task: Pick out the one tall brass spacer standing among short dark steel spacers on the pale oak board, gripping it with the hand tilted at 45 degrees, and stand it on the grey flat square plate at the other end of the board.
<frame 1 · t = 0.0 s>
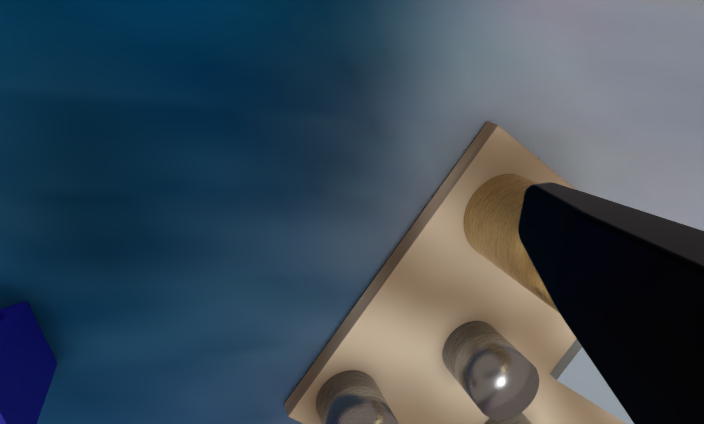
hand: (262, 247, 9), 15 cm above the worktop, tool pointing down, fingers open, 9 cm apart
grey flat square plate: (647, 347, 32), on the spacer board, point 1 cm above the worktop
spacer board: (526, 355, 31), on the worktop
tall brass spacer: (503, 216, 27), point 1 cm above the worktop, touching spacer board
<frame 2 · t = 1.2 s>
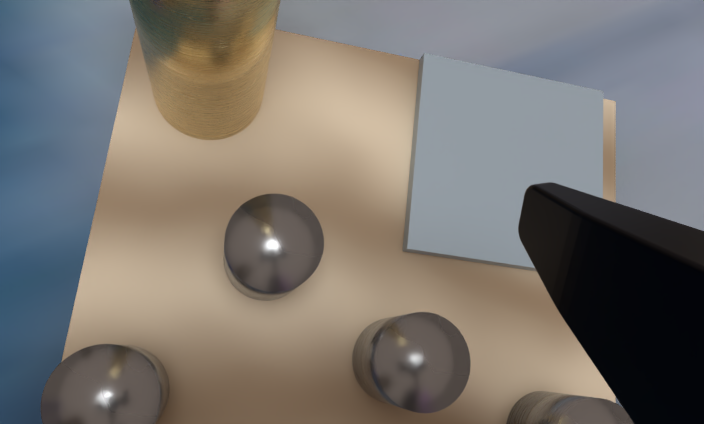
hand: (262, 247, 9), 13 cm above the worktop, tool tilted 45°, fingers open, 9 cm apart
grey flat square plate: (508, 166, 24), on the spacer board, point 1 cm above the worktop
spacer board: (370, 251, 23), on the worktop
short steel spacers: (365, 340, 20), on the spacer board, point 3 cm above the worktop
tall brass spacer: (209, 89, 22), point 1 cm above the worktop, touching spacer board
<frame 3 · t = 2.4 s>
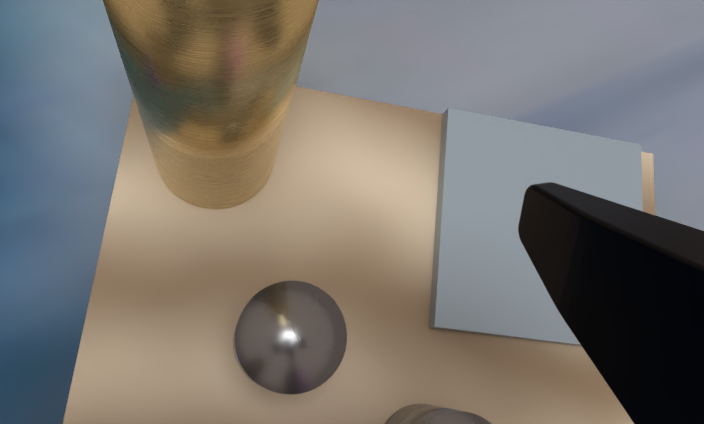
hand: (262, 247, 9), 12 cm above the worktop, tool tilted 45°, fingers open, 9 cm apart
grey flat square plate: (542, 229, 22), on the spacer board, point 1 cm above the worktop
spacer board: (392, 326, 21), on the worktop
tall brass spacer: (215, 152, 20), point 1 cm above the worktop, touching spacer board
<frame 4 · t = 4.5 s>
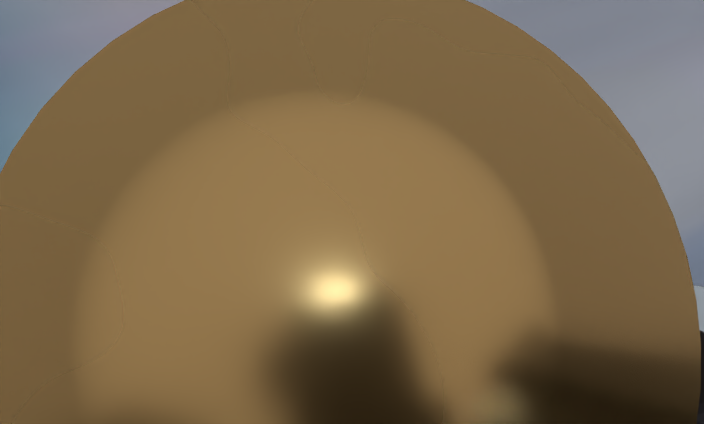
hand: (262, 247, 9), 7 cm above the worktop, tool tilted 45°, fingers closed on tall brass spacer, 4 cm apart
tall brass spacer: (254, 347, 15), point 1 cm above the worktop, touching gripper, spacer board
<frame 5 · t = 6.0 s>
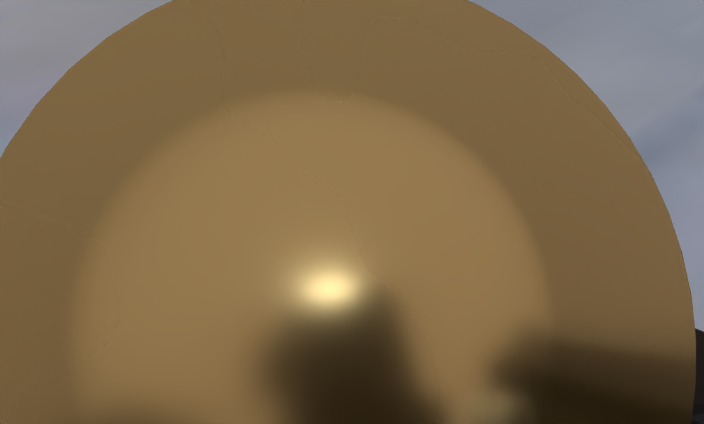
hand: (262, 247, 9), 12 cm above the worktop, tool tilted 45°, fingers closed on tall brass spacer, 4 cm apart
tall brass spacer: (253, 346, 15), point 6 cm above the worktop, touching gripper
when the fingers open (9 cm above the worktop, at t = 7.8 s): tall brass spacer drops 1 cm, resting on grey flat square plate.
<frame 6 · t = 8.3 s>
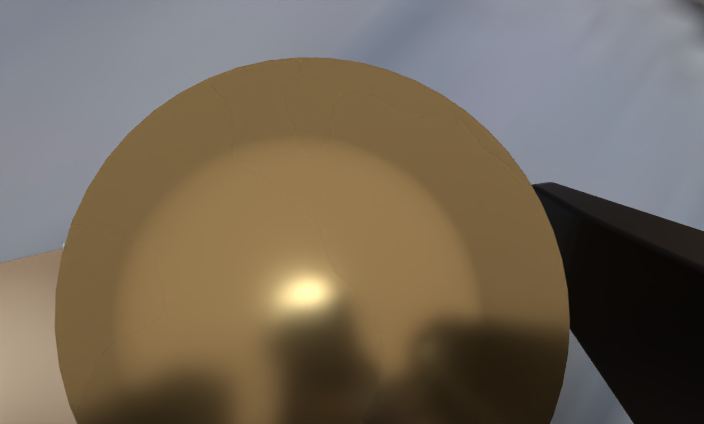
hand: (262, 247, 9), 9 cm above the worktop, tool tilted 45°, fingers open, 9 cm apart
tall brass spacer: (251, 350, 16), point 2 cm above the worktop, touching grey flat square plate
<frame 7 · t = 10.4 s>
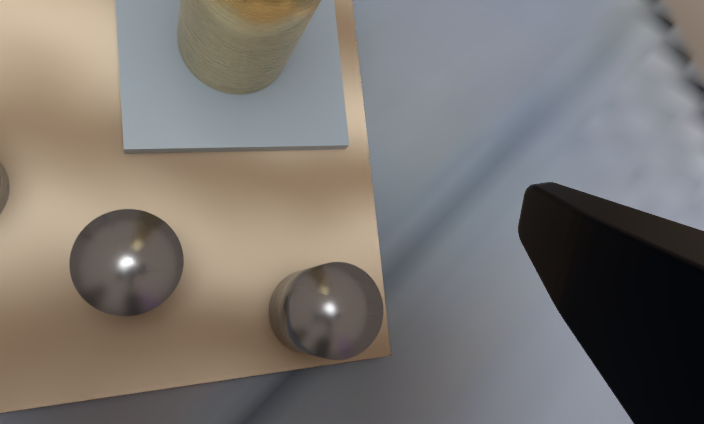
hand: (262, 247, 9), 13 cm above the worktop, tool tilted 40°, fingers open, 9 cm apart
grey flat square plate: (233, 44, 22), on the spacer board, point 1 cm above the worktop
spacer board: (94, 161, 21), on the worktop
short steel spacers: (75, 253, 18), on the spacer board, point 3 cm above the worktop
tall brass spacer: (234, 41, 22), point 2 cm above the worktop, touching grey flat square plate
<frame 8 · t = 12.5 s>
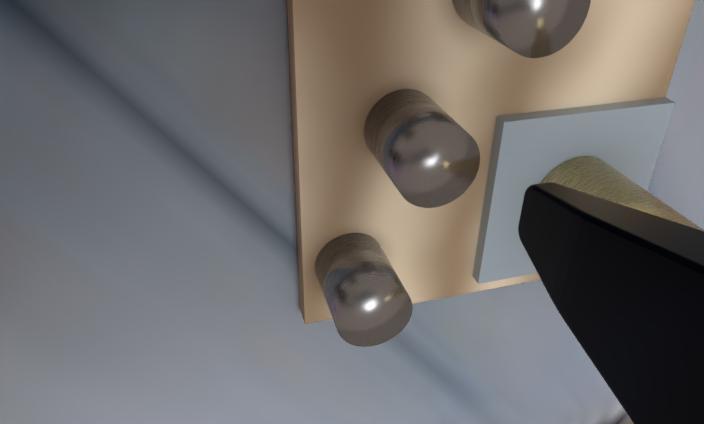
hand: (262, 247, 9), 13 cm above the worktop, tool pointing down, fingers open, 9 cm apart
grey flat square plate: (568, 193, 27), on the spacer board, point 1 cm above the worktop
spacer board: (488, 83, 24), on the worktop
short steel spacers: (435, 105, 21), on the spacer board, point 3 cm above the worktop
tall brass spacer: (571, 197, 26), point 2 cm above the worktop, touching grey flat square plate
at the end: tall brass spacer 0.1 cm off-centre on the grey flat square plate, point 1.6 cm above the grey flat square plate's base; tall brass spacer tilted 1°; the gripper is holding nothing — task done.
